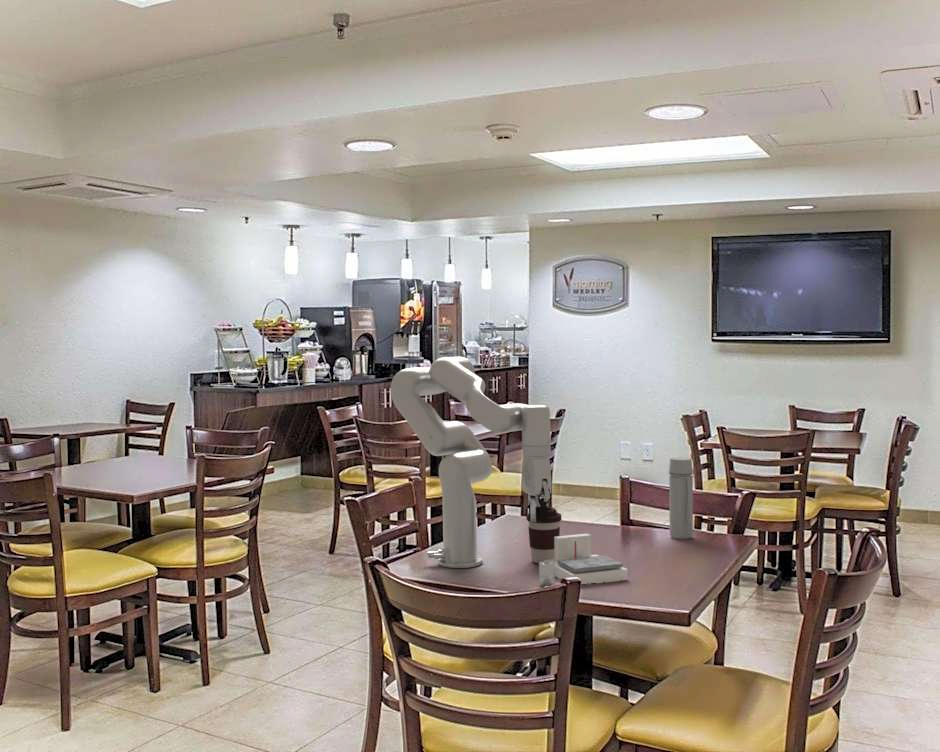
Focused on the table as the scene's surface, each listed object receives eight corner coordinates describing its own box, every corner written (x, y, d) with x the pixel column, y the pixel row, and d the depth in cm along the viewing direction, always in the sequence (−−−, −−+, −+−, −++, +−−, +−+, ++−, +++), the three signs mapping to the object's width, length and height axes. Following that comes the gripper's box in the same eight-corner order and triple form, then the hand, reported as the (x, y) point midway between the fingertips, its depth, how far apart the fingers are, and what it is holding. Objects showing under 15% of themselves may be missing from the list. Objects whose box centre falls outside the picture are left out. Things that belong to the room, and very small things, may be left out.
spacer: (543, 589, 231) (542, 565, 231) (536, 585, 235) (536, 561, 235) (557, 587, 233) (557, 564, 232) (550, 583, 236) (550, 560, 236)
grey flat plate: (574, 572, 235) (574, 568, 235) (557, 563, 244) (557, 560, 244) (622, 567, 239) (622, 563, 239) (604, 558, 249) (604, 555, 249)
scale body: (572, 586, 233) (572, 551, 233) (544, 570, 250) (544, 537, 250) (627, 579, 239) (627, 545, 238) (596, 564, 255) (596, 532, 255)
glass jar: (534, 522, 240) (533, 499, 240) (528, 519, 244) (527, 497, 243) (548, 521, 241) (547, 498, 241) (542, 518, 245) (541, 496, 245)
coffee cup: (533, 566, 254) (533, 513, 253) (522, 558, 263) (521, 507, 263) (567, 563, 256) (566, 511, 256) (554, 555, 266) (554, 504, 265)
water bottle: (664, 536, 290) (663, 457, 289) (686, 534, 292) (685, 456, 291) (679, 542, 281) (678, 461, 280) (701, 540, 283) (701, 460, 282)
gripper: (512, 449, 248) (513, 515, 249) (535, 455, 233) (537, 527, 233) (537, 447, 251) (539, 513, 251) (562, 454, 235) (564, 524, 236)
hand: (538, 519), depth 242 cm, fingers closed on glass jar, 4 cm apart
